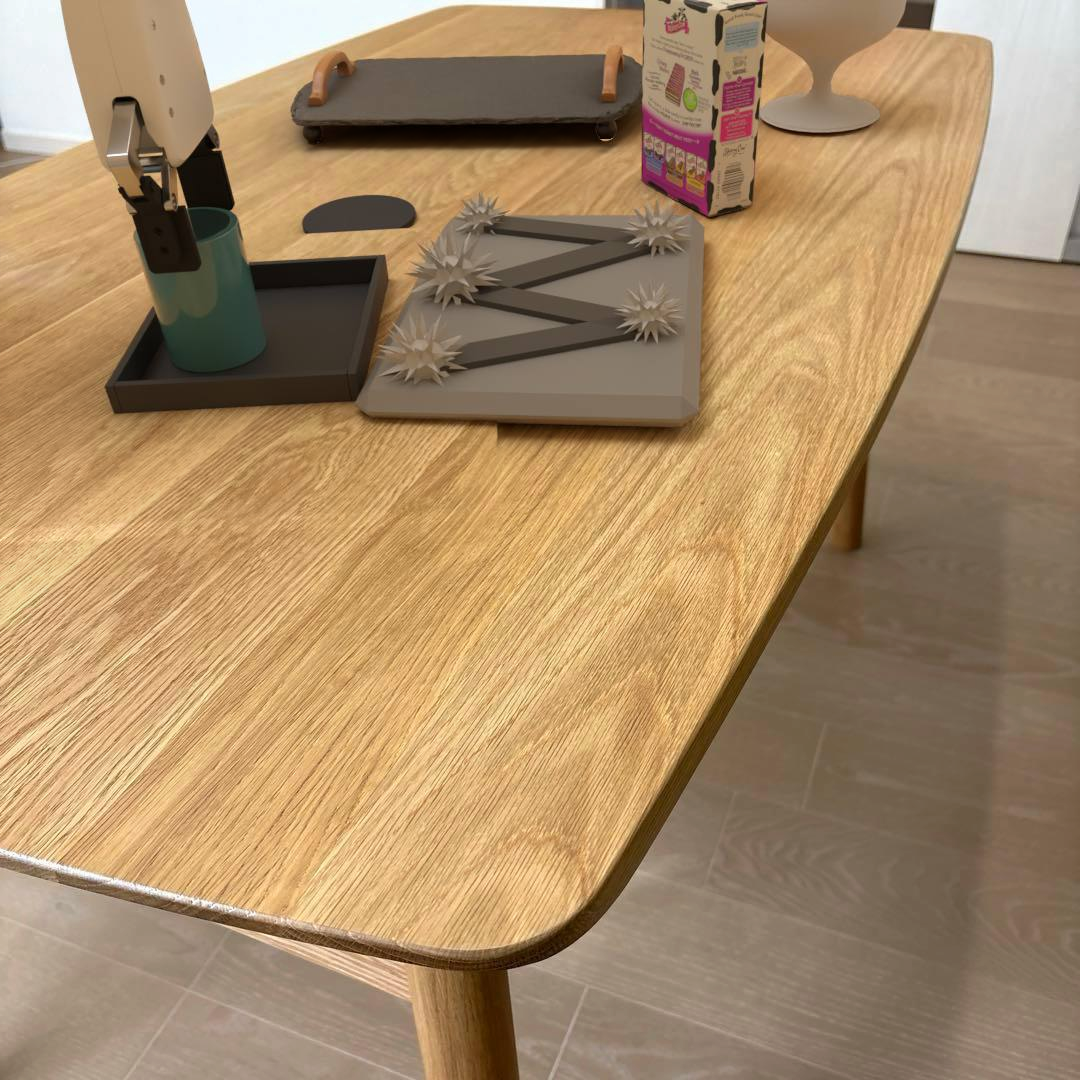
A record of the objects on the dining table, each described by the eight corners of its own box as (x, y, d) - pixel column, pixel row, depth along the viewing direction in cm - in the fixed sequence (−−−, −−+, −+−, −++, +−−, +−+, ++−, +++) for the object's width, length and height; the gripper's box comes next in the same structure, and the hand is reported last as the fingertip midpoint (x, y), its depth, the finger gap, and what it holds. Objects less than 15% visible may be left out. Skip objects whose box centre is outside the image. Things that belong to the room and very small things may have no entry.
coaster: (294, 247, 91) (293, 242, 91) (312, 203, 99) (311, 197, 98) (411, 241, 91) (410, 235, 90) (420, 197, 98) (419, 191, 98)
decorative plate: (697, 441, 65) (702, 335, 60) (354, 432, 68) (335, 331, 63) (703, 239, 88) (707, 151, 83) (448, 238, 91) (438, 154, 86)
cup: (158, 375, 73) (119, 250, 67) (183, 328, 78) (148, 208, 73) (257, 370, 73) (225, 244, 67) (275, 323, 78) (247, 203, 73)
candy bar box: (756, 207, 92) (772, -1, 82) (708, 220, 91) (718, 10, 81) (683, 169, 100) (689, -24, 90) (638, 181, 99) (639, -15, 88)
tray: (117, 423, 70) (104, 386, 68) (185, 299, 84) (176, 265, 82) (362, 410, 70) (356, 373, 68) (390, 287, 84) (385, 254, 82)
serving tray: (655, 79, 123) (656, 21, 119) (643, 147, 106) (643, 82, 102) (333, 84, 129) (324, 28, 125) (270, 150, 111) (257, 88, 107)
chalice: (917, 123, 107) (945, -45, 97) (797, 149, 103) (814, -24, 94) (836, 88, 117) (854, -67, 108) (724, 110, 113) (733, -49, 104)
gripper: (95, -74, 67) (173, 195, 77) (-14, -13, 53) (99, 302, 64) (213, -84, 67) (275, 187, 77) (134, -26, 53) (222, 293, 64)
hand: (195, 239), depth 71 cm, fingers open, 9 cm apart
